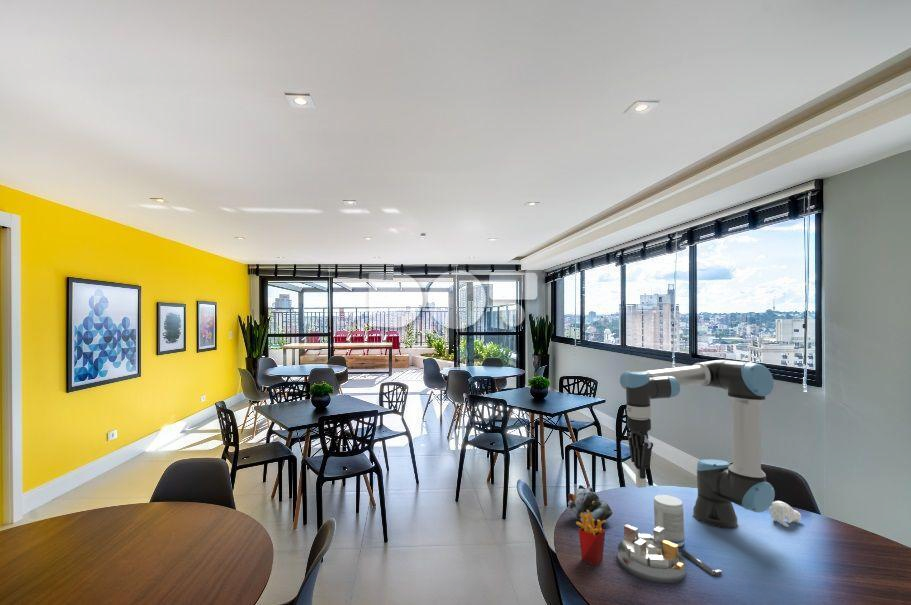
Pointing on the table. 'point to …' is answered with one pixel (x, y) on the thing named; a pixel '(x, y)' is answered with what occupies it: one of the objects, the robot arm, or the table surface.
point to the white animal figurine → (783, 513)
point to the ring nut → (638, 548)
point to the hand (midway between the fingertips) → (641, 486)
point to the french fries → (591, 539)
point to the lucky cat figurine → (588, 505)
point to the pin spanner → (702, 564)
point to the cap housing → (646, 571)
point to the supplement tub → (670, 518)
